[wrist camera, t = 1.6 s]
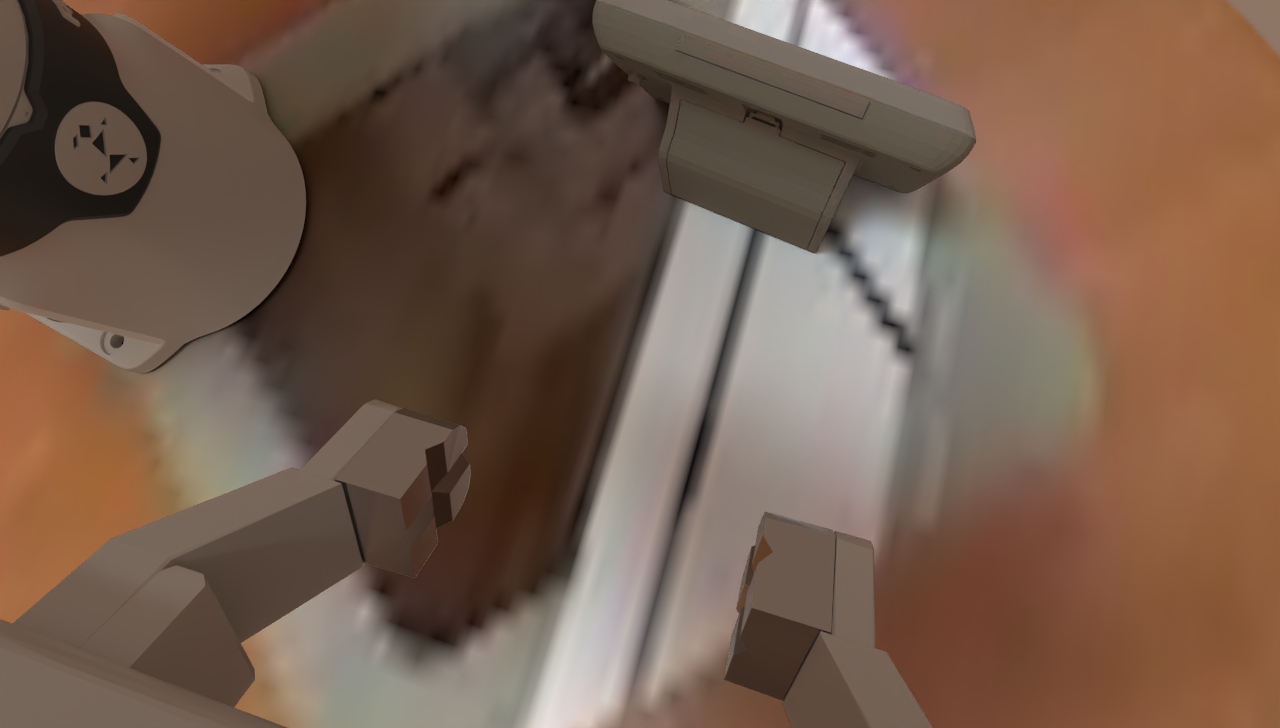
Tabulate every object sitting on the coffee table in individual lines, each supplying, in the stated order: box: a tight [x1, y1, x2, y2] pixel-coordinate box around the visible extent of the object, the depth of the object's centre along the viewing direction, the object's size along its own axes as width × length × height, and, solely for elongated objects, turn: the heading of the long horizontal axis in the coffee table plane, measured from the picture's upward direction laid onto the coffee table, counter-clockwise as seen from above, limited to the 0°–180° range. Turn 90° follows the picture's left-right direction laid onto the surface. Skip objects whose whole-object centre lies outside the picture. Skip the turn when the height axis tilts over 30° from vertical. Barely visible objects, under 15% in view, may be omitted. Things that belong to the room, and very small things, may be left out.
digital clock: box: [593, 0, 976, 253], centre depth 30 cm, size 16×9×11 cm, turn 53°
